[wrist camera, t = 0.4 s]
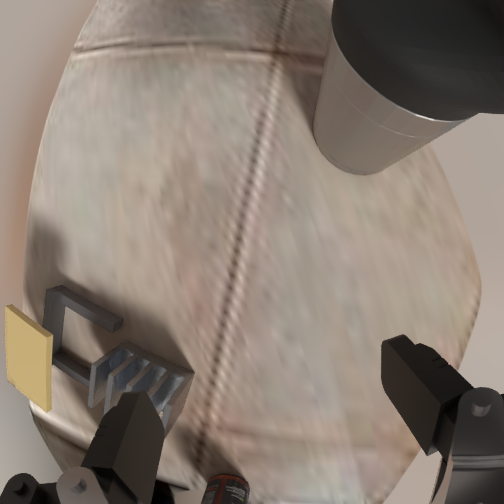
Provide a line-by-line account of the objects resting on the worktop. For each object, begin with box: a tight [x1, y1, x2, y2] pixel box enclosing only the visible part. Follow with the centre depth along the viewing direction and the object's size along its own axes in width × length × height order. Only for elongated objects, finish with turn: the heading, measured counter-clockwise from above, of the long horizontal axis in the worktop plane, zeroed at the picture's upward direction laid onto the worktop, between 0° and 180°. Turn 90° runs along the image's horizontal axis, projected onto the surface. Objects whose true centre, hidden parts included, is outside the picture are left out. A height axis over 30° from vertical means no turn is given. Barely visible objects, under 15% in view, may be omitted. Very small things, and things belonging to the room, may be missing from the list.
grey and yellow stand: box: [5, 285, 122, 412], centre depth 29 cm, size 11×10×10 cm
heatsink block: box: [88, 340, 195, 439], centre depth 29 cm, size 6×9×8 cm, turn 70°
